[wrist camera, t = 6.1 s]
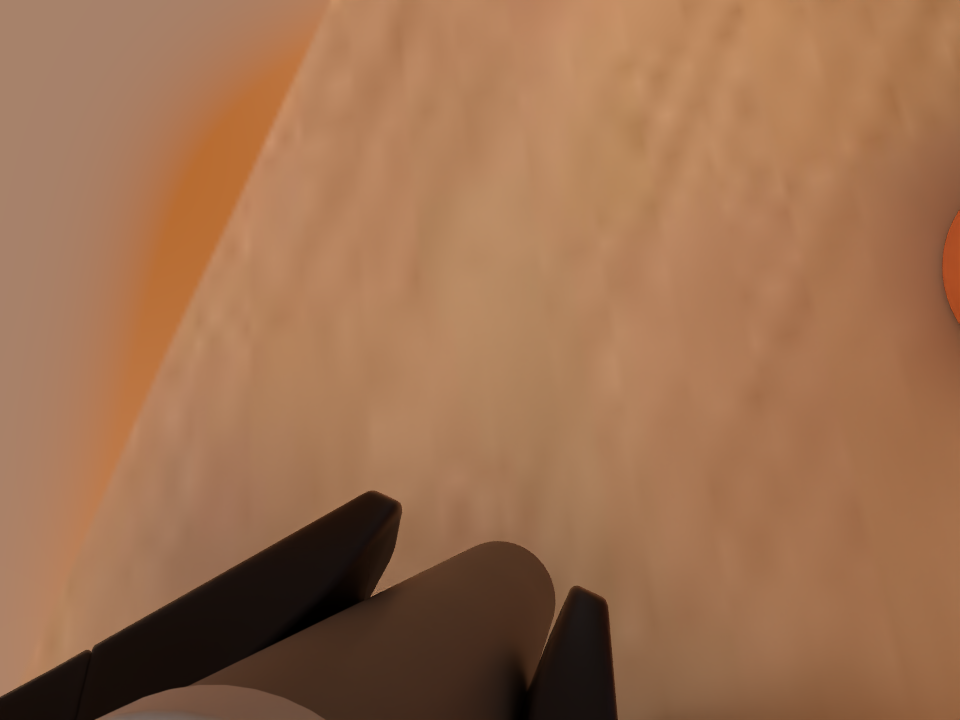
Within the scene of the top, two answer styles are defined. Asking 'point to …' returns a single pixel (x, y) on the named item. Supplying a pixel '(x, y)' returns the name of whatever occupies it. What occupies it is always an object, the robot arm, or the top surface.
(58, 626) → the top surface
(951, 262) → the cup with straw
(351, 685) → the gray cylinder
